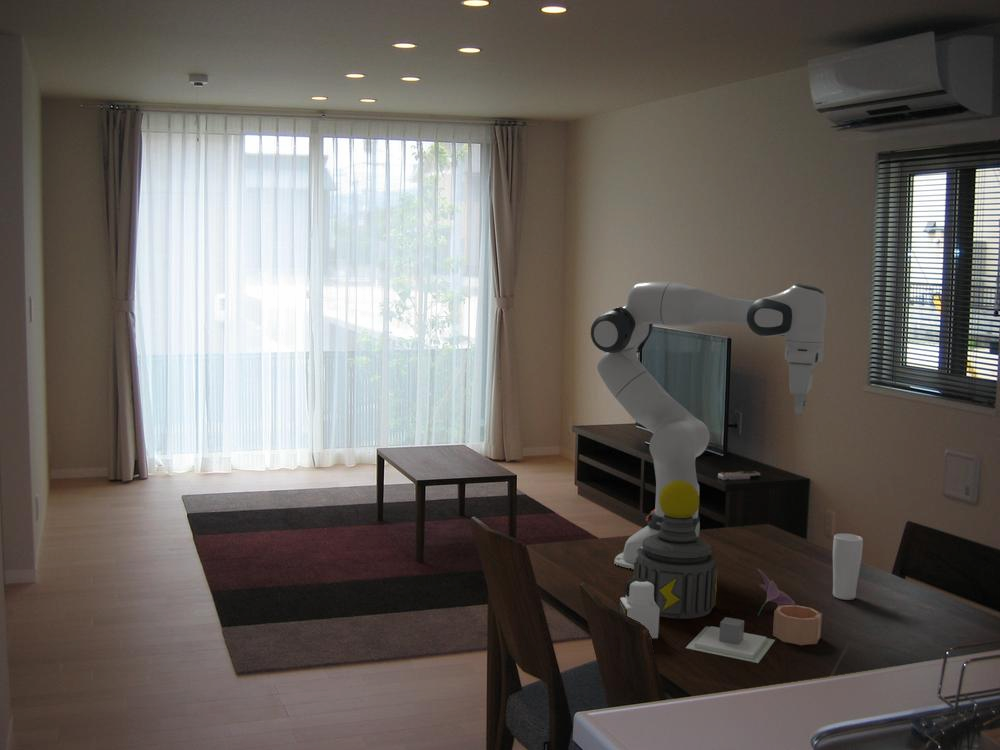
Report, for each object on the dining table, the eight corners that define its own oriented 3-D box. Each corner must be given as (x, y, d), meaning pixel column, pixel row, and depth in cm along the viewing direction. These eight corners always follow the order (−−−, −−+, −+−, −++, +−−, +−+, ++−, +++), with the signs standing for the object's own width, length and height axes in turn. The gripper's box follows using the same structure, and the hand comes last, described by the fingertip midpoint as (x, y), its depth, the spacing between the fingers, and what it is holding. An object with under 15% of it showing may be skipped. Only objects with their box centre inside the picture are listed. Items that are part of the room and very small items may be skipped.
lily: (792, 631, 232) (810, 592, 234) (743, 606, 234) (761, 567, 236) (781, 629, 244) (799, 592, 246) (735, 605, 246) (752, 568, 247)
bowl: (769, 641, 222) (771, 614, 222) (779, 628, 230) (780, 602, 230) (814, 650, 218) (816, 622, 217) (822, 636, 226) (824, 610, 226)
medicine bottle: (618, 628, 227) (620, 574, 226) (650, 628, 228) (653, 575, 226) (624, 640, 220) (627, 585, 218) (658, 640, 220) (661, 585, 219)
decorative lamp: (717, 600, 248) (725, 476, 245) (711, 626, 230) (719, 493, 227) (638, 591, 253) (644, 469, 250) (626, 616, 235) (633, 485, 232)
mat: (685, 650, 215) (685, 647, 215) (705, 628, 229) (706, 626, 229) (758, 665, 209) (758, 662, 208) (775, 642, 222) (775, 639, 222)
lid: (694, 647, 216) (695, 624, 215) (710, 629, 227) (712, 608, 226) (752, 658, 210) (754, 635, 210) (766, 640, 221) (767, 618, 221)
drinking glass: (860, 603, 250) (865, 541, 249) (830, 600, 252) (835, 539, 250) (856, 594, 257) (861, 534, 255) (827, 591, 258) (832, 532, 257)
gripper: (794, 349, 260) (790, 404, 262) (786, 355, 241) (782, 414, 243) (820, 351, 258) (816, 406, 259) (814, 357, 239) (810, 417, 240)
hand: (799, 410), depth 251 cm, fingers open, 8 cm apart
